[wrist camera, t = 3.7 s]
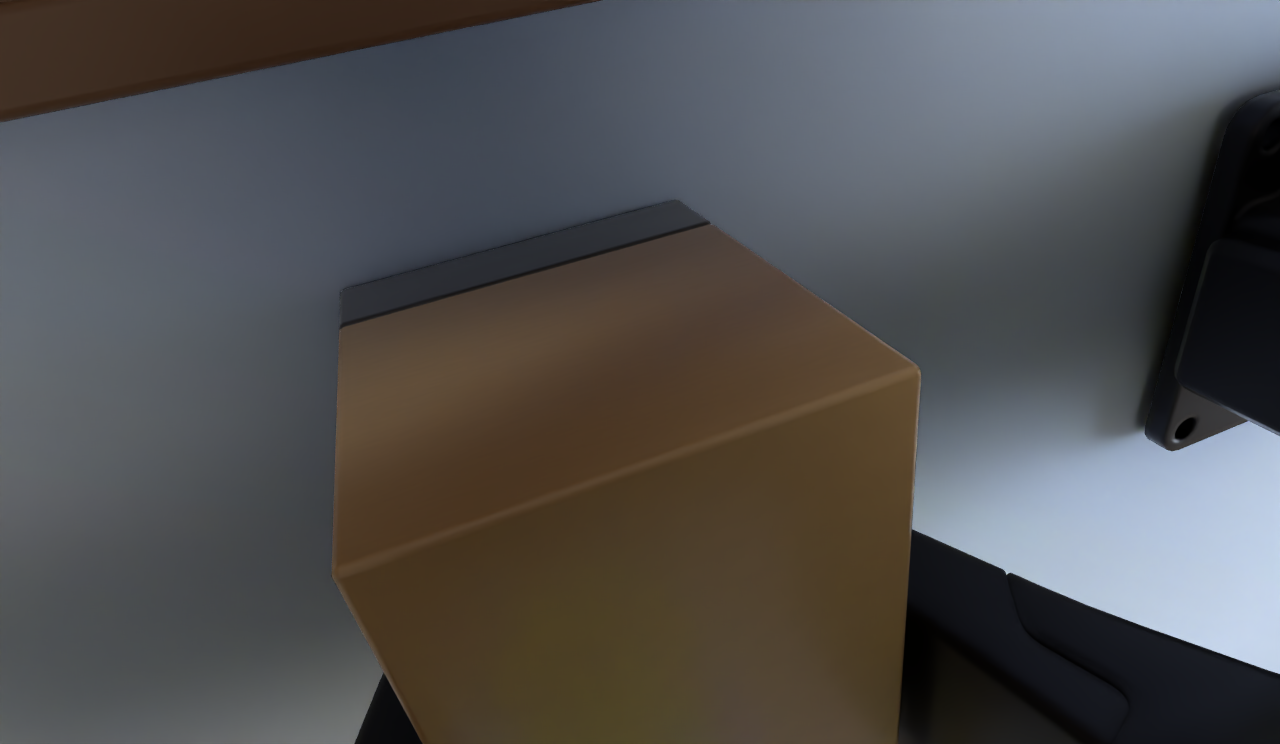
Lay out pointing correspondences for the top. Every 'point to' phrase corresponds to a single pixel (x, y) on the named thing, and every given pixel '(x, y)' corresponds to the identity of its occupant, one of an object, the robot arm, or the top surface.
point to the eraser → (625, 494)
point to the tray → (201, 40)
